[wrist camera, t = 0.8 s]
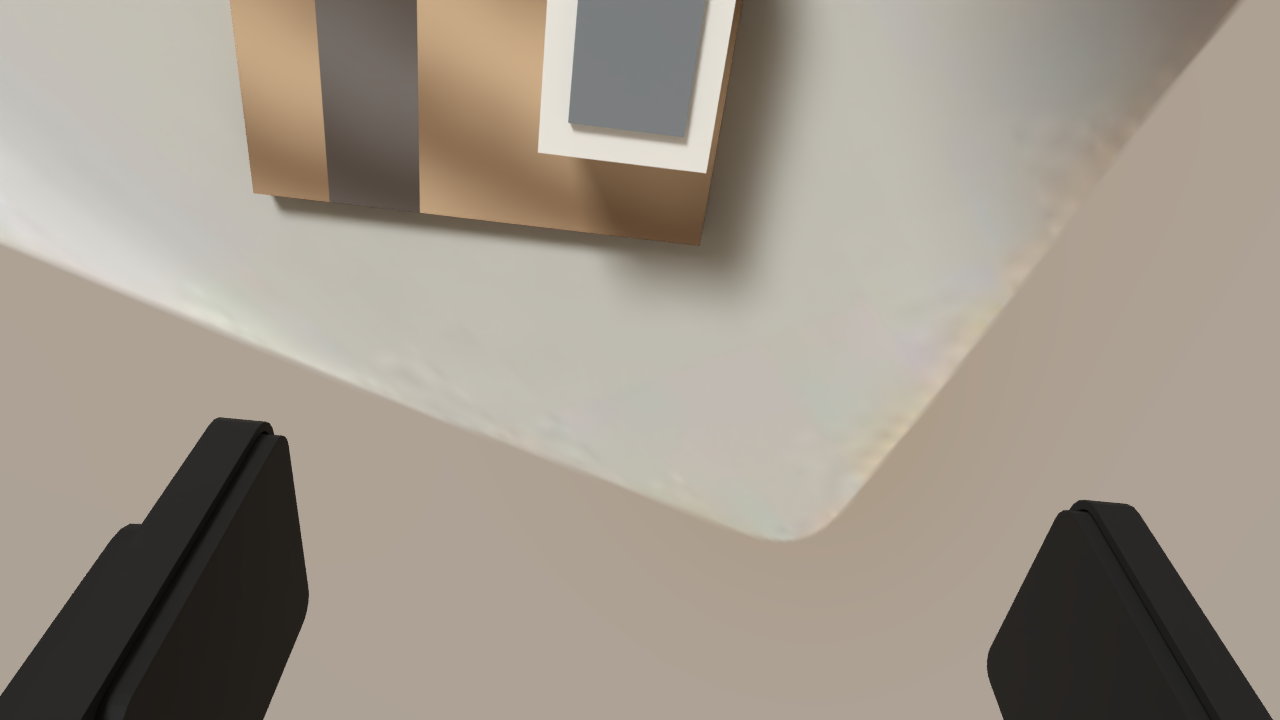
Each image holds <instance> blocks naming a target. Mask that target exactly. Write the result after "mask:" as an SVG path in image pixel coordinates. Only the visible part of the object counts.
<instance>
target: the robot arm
mask: <svg viewBox="0 0 1280 720" xmlns="http://www.w3.org/2000/svg"><path fill="white" fill-rule="evenodd" d="M308 598H309V590H308V582H307V575H306V568H305V561H304V554H303V546H302V539H301V532H300V524H299V518H298V510H297V503H296V496H295V489H294V482H293V474H292V467H291V460H290V453H289V445H288V441H287V439H286V437H284V436H279V435H274V432H273V428H272V426H271V425H270V423H268V422H263V421H252V420H242V419H231V418H221V417H220V418H217V419H214V420H213V422H212V423H211V424H210V425H209V426H208V428H207V429H206V430H205V432H204V434H203V435H202V436H201V438H200V439H199V441H198V442H197V444H196V445H195V447H194V448H193V450H192V451H191V453H190V454H189V455H188V457H187V458H186V460H185V461H184V463H183V464H182V466H181V467H180V469H179V470H178V472H177V473H176V474H175V476H174V477H173V479H172V480H171V482H170V483H169V485H168V486H167V488H166V489H165V491H164V492H163V494H162V495H161V496H160V498H159V499H158V501H157V502H156V504H155V505H154V507H153V508H152V510H151V511H150V513H149V514H148V516H147V517H146V519H145V520H144V521H143V523H142V524H129V525H127V526H125V527H124V528H122V529H120V530H119V532H118V533H117V534H116V535H115V536H114V537H113V538H112V539H111V541H110V542H109V543H108V545H107V546H106V548H105V549H104V551H103V552H102V553H101V555H100V556H99V558H98V559H97V560H96V562H95V563H94V565H93V566H92V568H91V569H90V570H89V572H88V573H87V574H86V576H85V577H84V579H83V580H82V581H81V583H80V584H79V586H78V587H77V589H76V590H75V591H74V593H73V594H72V596H71V597H70V598H69V600H68V601H67V603H66V604H65V605H64V607H63V609H62V610H61V611H60V613H59V614H58V615H57V617H56V618H55V620H54V621H53V622H52V624H51V625H50V627H49V628H48V630H47V631H46V632H45V634H44V635H43V637H42V638H41V639H40V641H39V642H38V644H37V645H36V647H35V648H34V649H33V651H32V652H31V654H30V655H29V656H28V658H27V659H26V661H25V662H24V663H23V665H22V666H21V668H20V669H19V670H18V672H17V673H16V675H15V676H14V678H13V679H12V680H11V682H10V683H9V685H8V686H7V688H6V689H5V690H4V692H3V693H2V694H1V696H0V720H263V718H264V716H265V714H266V711H267V709H268V707H269V704H270V702H271V699H272V697H273V695H274V692H275V690H276V687H277V685H278V682H279V680H280V677H281V675H282V673H283V670H284V668H285V665H286V663H287V660H288V658H289V656H290V653H291V651H292V649H293V646H294V644H295V641H296V639H297V637H298V634H299V632H300V629H301V627H302V624H303V622H304V619H305V615H306V612H307V607H308ZM987 671H988V677H989V680H990V683H991V686H992V689H993V691H994V694H995V697H996V700H997V702H998V705H999V708H1000V711H1001V714H1002V716H1003V719H1004V720H1273V719H1272V718H1271V716H1270V715H1269V713H1268V712H1267V710H1266V708H1265V707H1264V705H1263V704H1262V702H1261V701H1260V699H1259V698H1258V696H1257V695H1256V693H1255V691H1254V690H1253V689H1252V687H1251V685H1250V684H1249V682H1248V681H1247V679H1246V678H1245V676H1244V675H1243V673H1242V671H1241V670H1240V668H1239V667H1238V665H1237V664H1236V662H1235V661H1234V659H1233V658H1232V656H1231V655H1230V653H1229V651H1228V650H1227V648H1226V647H1225V645H1224V644H1223V642H1222V641H1221V639H1220V638H1219V636H1218V634H1217V633H1216V631H1215V630H1214V628H1213V627H1212V625H1211V624H1210V622H1209V621H1208V619H1207V617H1206V616H1205V614H1204V613H1203V611H1202V610H1201V608H1200V607H1199V605H1198V604H1197V602H1196V601H1195V599H1194V597H1193V596H1192V594H1191V593H1190V591H1189V590H1188V589H1187V587H1186V585H1185V584H1184V582H1183V580H1182V579H1181V578H1180V576H1179V574H1178V573H1177V571H1176V570H1175V568H1174V567H1173V565H1172V564H1171V562H1170V561H1169V559H1168V558H1167V556H1166V554H1165V553H1164V551H1163V550H1162V548H1161V547H1160V545H1159V544H1158V542H1157V540H1156V539H1155V537H1154V536H1153V534H1152V533H1151V531H1150V530H1149V528H1148V527H1147V525H1146V523H1145V522H1144V521H1143V519H1142V517H1141V516H1140V514H1139V513H1138V512H1137V511H1136V510H1135V508H1134V507H1132V506H1130V505H1128V504H1121V503H1110V502H1100V501H1090V500H1079V501H1077V502H1076V503H1074V504H1073V506H1072V507H1071V508H1070V510H1063V511H1062V512H1060V513H1059V514H1058V515H1057V517H1056V518H1055V520H1054V522H1053V524H1052V526H1051V528H1050V531H1049V533H1048V534H1047V536H1046V538H1045V540H1044V542H1043V544H1042V546H1041V548H1040V550H1039V552H1038V554H1037V556H1036V558H1035V560H1034V562H1033V564H1032V566H1031V568H1030V570H1029V572H1028V574H1027V576H1026V578H1025V580H1024V582H1023V584H1022V586H1021V588H1020V590H1019V592H1018V594H1017V596H1016V598H1015V600H1014V602H1013V604H1012V606H1011V608H1010V610H1009V612H1008V614H1007V616H1006V618H1005V620H1004V622H1003V624H1002V626H1001V628H1000V630H999V632H998V634H997V636H996V638H995V640H994V642H993V644H992V646H991V648H990V650H989V653H988V659H987Z"/></svg>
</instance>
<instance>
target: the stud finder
mask: <svg viewBox="0 0 1280 720" xmlns="http://www.w3.org/2000/svg"><path fill="white" fill-rule="evenodd" d="M735 3H736V0H547V11H546V27H545V43H544V60H543V76H542V92H541V108H540V124H539V141H538V153H545V154H553V155H561V156H569V157H577V158H585V159H594V160H602V161H610V162H618V163H626V164H634V165H643V166H651V167H659V168H667V169H675V170H683V171H692V172H700V173H706V171H707V166H708V160H709V154H710V148H711V142H712V137H713V131H714V125H715V119H716V113H717V107H718V102H719V96H720V90H721V84H722V78H723V73H724V67H725V61H726V55H727V49H728V43H729V38H730V32H731V26H732V20H733V14H734V8H735Z"/></svg>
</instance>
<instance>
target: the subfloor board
mask: <svg viewBox="0 0 1280 720" xmlns="http://www.w3.org/2000/svg"><path fill="white" fill-rule="evenodd" d="M742 1H743V0H736V3H735V8H734V14H733V20H732V26H731V32H730V38H729V43H728V49H727V55H726V61H725V67H724V73H723V78H722V84H721V90H720V96H719V102H718V107H717V113H716V119H715V125H714V131H713V137H712V142H711V148H710V154H709V160H708V166H707V171H706V173H700V172H692V171H683V170H675V169H667V168H659V167H651V166H643V165H634V164H626V163H618V162H610V161H602V160H594V159H585V158H577V157H569V156H561V155H553V154H545V153H538V141H539V124H540V108H541V92H542V76H543V60H544V43H545V27H546V11H547V0H230V6H231V14H232V22H233V30H234V38H235V47H236V55H237V63H238V71H239V79H240V87H241V95H242V103H243V111H244V119H245V127H246V136H247V144H248V152H249V160H250V168H251V176H252V184H253V192H254V193H257V194H265V195H274V196H282V197H291V198H299V199H307V200H316V201H324V202H333V203H341V204H350V205H358V206H367V207H375V208H384V209H392V210H401V211H409V212H418V213H426V214H435V215H443V216H452V217H460V218H469V219H477V220H486V221H494V222H503V223H511V224H520V225H528V226H537V227H545V228H554V229H562V230H570V231H579V232H587V233H596V234H604V235H613V236H621V237H630V238H638V239H647V240H655V241H664V242H672V243H681V244H689V245H698V246H700V240H701V234H702V229H703V223H704V217H705V212H706V206H707V200H708V195H709V189H710V183H711V178H712V172H713V166H714V160H715V155H716V149H717V143H718V138H719V132H720V126H721V121H722V115H723V109H724V104H725V98H726V92H727V86H728V81H729V75H730V69H731V64H732V58H733V52H734V47H735V41H736V35H737V30H738V24H739V18H740V13H741V7H742Z"/></svg>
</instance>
